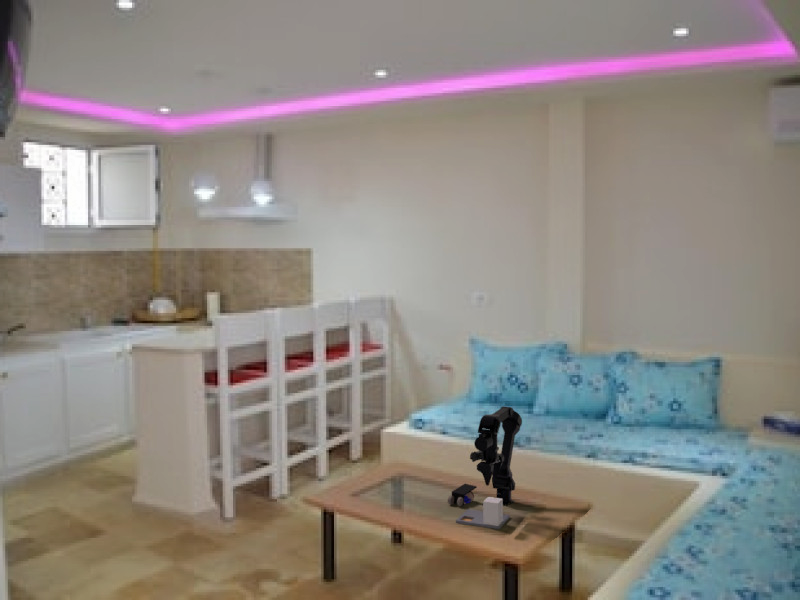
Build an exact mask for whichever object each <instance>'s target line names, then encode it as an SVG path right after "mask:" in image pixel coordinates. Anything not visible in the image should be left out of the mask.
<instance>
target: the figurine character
mask: <svg viewBox="0 0 800 600" xmlns="http://www.w3.org/2000/svg"><path fill="white" fill-rule="evenodd" d="M477 488H478V487H477V485H473V484H468V483H463V484H462V485H460V486H458V487H457V488H455V489H454V490H452V491H451V495H449V496H448V498H447V503H448V505H453V504H454V505H457V506H459V507H463V506H465V505H466V504H470V503H472V502H473V501H474V498H475V493H474V492H473V491H474V490H475V489H477Z"/></svg>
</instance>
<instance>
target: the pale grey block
mask: <svg viewBox="0 0 800 600" xmlns="http://www.w3.org/2000/svg"><path fill="white" fill-rule="evenodd" d="M482 505H483V506H482V511H483V523H484V524H487V525H494V526H499V525H500V524H501V523H502V521H503V514H504V512H503V511H504V509H503V507H504V505H503V499H501V498H497V497H492V496H488V497H486V498H485V499H484V500H483V501H482Z"/></svg>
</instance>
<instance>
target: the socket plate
mask: <svg viewBox="0 0 800 600" xmlns="http://www.w3.org/2000/svg"><path fill="white" fill-rule="evenodd" d="M510 518H511V516H510V514H506V513H503V521H502V523H501V524H500V525H499V526H494V525H487V524H484V523H483V510H477V509H476V510H475V509H469V508H467V510H465V511H464V512H463V513H462V514H461V515H460V516H459V517H458V518H457V519H455V523H456V524H461V525H467V526H474V527H479V528H481V527H482V528H487V529H494V530H500V529H501V528H503V526H504V525H505V524H506V522H507V521H508V520H509V519H510Z"/></svg>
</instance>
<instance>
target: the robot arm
mask: <svg viewBox="0 0 800 600" xmlns="http://www.w3.org/2000/svg"><path fill="white" fill-rule="evenodd" d="M522 424H523V419H522V416H521V415H520V413H518V412H516V411H515V410H514V408H513V407H511V406H501V407H500V408H499V409H498V410H496V411H495V412H494V413H492V414H491V413H490V414H484V415H483V416H482V417H481V418H480V422H479V424H478V425H479V426H478V429H477V433H478V437H476V438H475V440H474V447H475V449H476V450H477V451H471V453H470V454H469V459H470V460H471V461H472V462H473V463H475V462H476V461H480V462H479V463H477V464H476V471H478V472H480V473H481V474H482V477H483V479H484V483H485V485H486V486H487V487H488V486H489V485H490V483H492V488H493V489H496V498H501V499H503V506H507V505H510V504H512V503H515V500H513V499H512V491H515V490H516V489H515V488H516V482H515V480H514V478H513V472H512V469H511V463H512V455H513V450H514V444H515V438H516V435H517V434H518V433H519V432H520V431H521V426H522ZM501 426H502V430H503V433H504V434H503V440H502V446H501V452H500V453H499V452H498V451H499V450H500V447H499V446H498V434H499V431H500V427H501Z"/></svg>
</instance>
